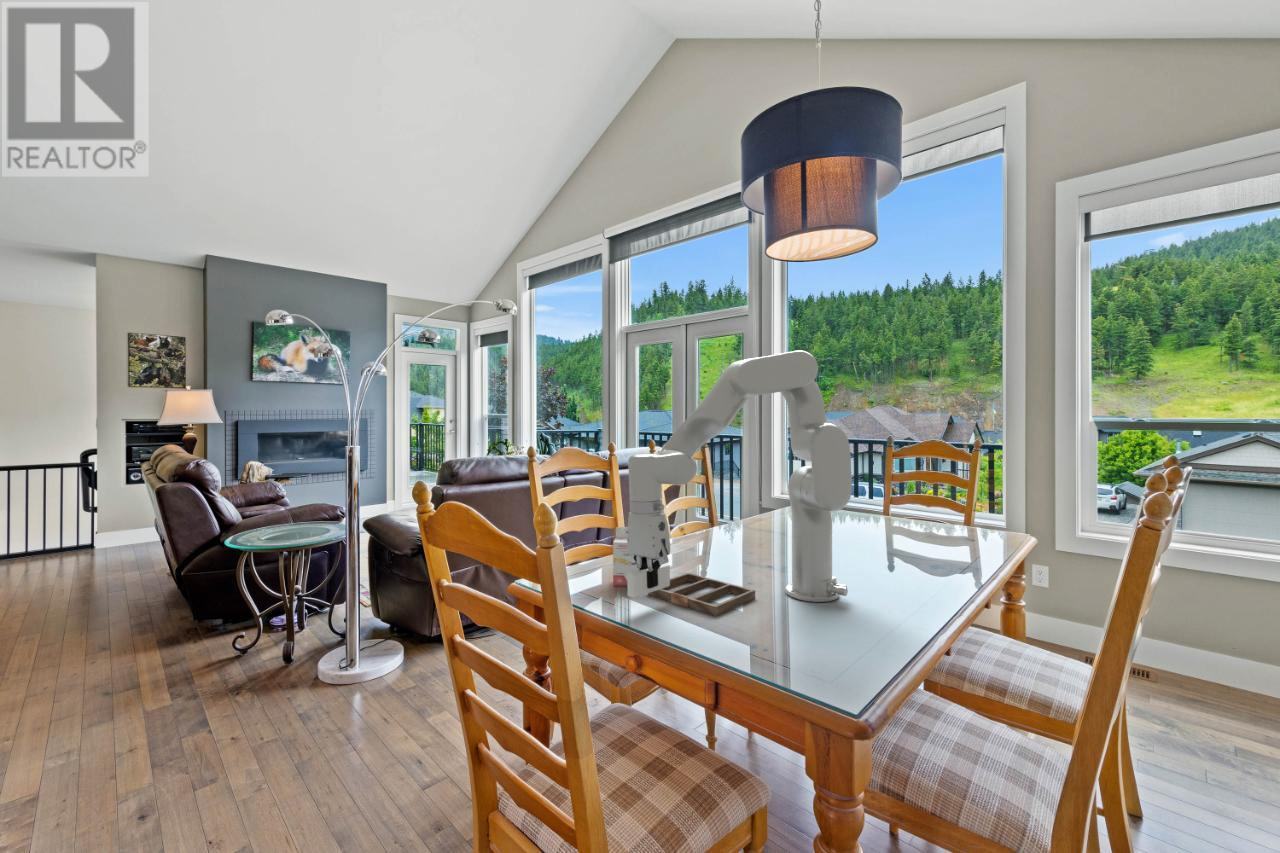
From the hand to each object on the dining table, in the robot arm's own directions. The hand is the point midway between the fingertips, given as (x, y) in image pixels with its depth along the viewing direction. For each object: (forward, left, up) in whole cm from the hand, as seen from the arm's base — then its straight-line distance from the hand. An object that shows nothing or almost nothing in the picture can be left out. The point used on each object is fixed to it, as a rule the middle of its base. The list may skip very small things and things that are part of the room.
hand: (649, 585), depth 128 cm
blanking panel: (0, 0, -1) cm, 1 cm away
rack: (-4, -14, -5) cm, 16 cm away
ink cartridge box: (+16, -9, -6) cm, 20 cm away
